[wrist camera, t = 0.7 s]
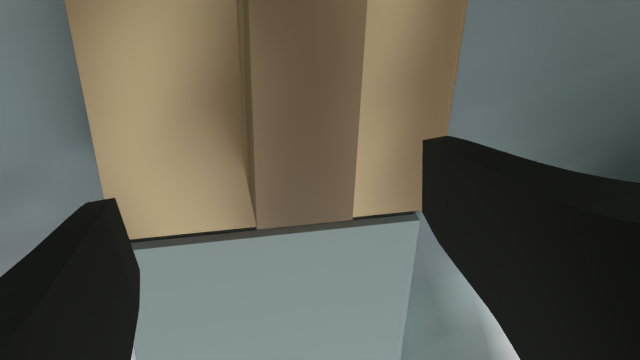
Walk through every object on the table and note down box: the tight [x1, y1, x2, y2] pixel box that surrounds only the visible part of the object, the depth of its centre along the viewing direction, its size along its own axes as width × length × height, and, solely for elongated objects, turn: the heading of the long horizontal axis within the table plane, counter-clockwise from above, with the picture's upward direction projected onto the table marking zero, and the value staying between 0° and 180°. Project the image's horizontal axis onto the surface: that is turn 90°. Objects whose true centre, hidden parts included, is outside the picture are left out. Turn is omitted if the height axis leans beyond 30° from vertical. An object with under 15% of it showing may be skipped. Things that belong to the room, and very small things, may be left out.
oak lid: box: [64, 0, 468, 239], centre depth 15 cm, size 13×13×5 cm
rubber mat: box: [131, 214, 420, 360], centre depth 26 cm, size 14×14×1 cm
